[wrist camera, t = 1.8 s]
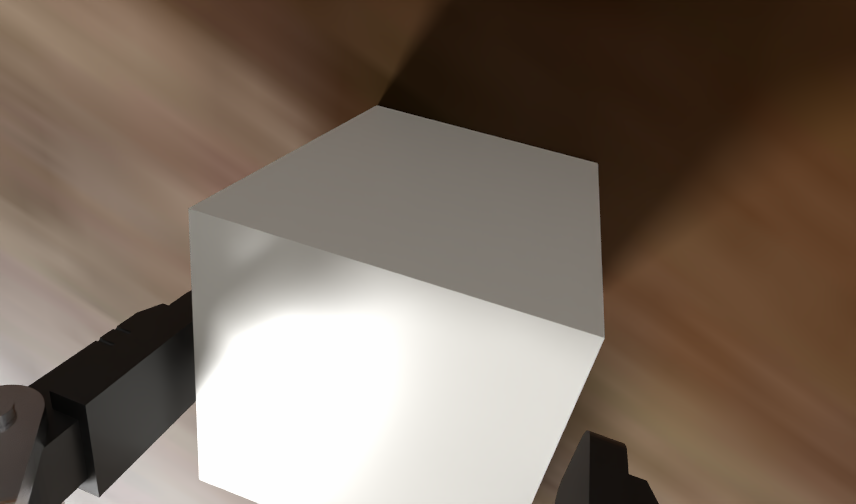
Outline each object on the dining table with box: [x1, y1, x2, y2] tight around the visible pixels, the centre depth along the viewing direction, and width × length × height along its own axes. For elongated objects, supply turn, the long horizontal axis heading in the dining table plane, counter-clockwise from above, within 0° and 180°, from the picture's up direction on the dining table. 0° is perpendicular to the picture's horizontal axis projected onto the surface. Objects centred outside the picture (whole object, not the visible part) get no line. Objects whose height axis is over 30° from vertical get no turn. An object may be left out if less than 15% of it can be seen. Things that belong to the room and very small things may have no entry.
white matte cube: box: [189, 105, 605, 504], centre depth 14 cm, size 7×7×9 cm
